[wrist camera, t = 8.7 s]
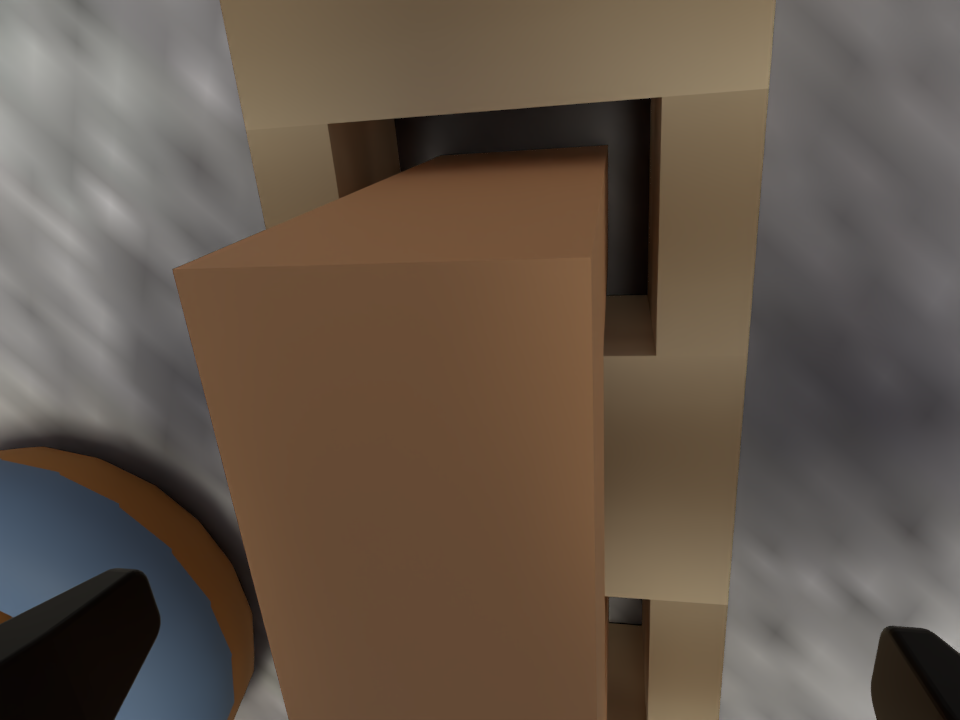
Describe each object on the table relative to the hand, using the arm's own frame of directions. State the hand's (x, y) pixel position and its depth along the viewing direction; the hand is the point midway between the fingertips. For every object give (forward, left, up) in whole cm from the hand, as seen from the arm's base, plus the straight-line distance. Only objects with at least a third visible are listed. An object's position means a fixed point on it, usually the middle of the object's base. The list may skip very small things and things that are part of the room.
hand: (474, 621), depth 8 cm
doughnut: (-6, +12, -7) cm, 15 cm away
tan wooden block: (0, 0, -6) cm, 6 cm away
